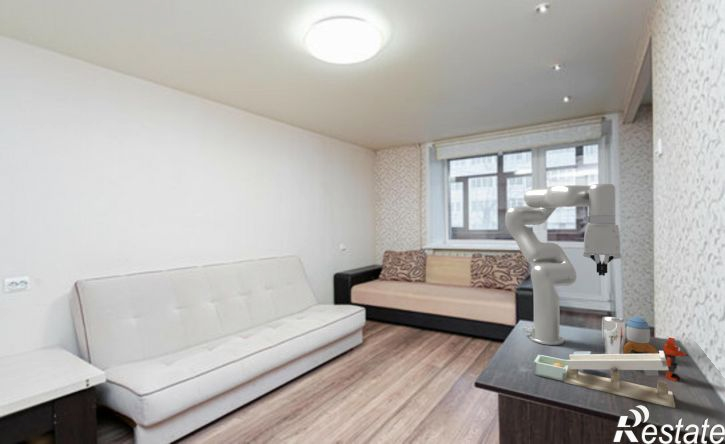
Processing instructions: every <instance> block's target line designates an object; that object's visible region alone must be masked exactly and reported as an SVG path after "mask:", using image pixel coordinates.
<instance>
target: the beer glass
mask: <svg viewBox="0 0 725 444" xmlns="http://www.w3.org/2000/svg"><path fill="white" fill-rule="evenodd" d="M601 320H602V321H601V336H602V342H603V348H604V353H603V354H623V350H624V346H625V345H626V340H627V335H626V327H627V323H626V320H625V319H623V318H621V317H616V316H603V317H602V319H601Z"/></svg>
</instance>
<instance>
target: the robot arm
mask: <svg viewBox="0 0 725 444" xmlns="http://www.w3.org/2000/svg"><path fill="white" fill-rule="evenodd" d="M523 202H524V203H525V205H524V206H523V205H520V206H514V207H513V206H512V207H510V208H509V209H508V210H507V211H506V212H505V217H504V222H505V227H506V229H507V231H508V232H509V234H510V235H511V237H512V238H513V239H514V241H515V243H516V244H517V246H518V248H519V250H520V252H521V253H522V256H523V257H524V260H525V261H526V262H527V263H528V264H529V265H534V266H533V267H532V268H531V270H530V280H531V285H532V290H533V291H532V293H533V326H531V327H528V326H524V325H523V326H522V331H523V332H524V333H527V334H529V339H530V340H531V341H532V342H535V343H537V344H541V345H546V346H547V345H549V346H561V345H563V344H564V343H565V338H563V337H562V336H560V335H561V333H560V325H561V324H560V322H561V321H560V296H559V293H558V292H557V290H556V287H567V286H568V287H569V286H572V285H574V284H575V283H576V281H577V272H576V269H575V267H574V266H573V264H572V263H571V260H570V259H569V258H568V256H567V255H566V252H565V251H564V249H563V247H561V246H560V245H559V244H557V243H555V242H542V241H541V240H540V239H539V238H538V237H537V235H536V234H535V233H534V231H533V230H531V228H529V227H527V226H538V225H542V224H544V223H546V221H547V220H548V219H549V218H550V217H551V215H553V213H554V211H556V210H557V208H559V207H562V208H563V207H564V208H565V207H568V208H569V207H578V208H579V207H585V208H586V207H587V208H588V216H586V217H583V222H587V223H588V224H585V228H584V237H583V255H582V256H583V257H585V258H589V259H591V260H592V261H594V262H595V263H596V273H598V276H605V275H606V274H608V264H609V263H610V262H611V261H613V260H617V259H622V253H621V234H620V233H621V232H620V228H619V224H616V186H615V185H614V184H612V183H597V184H592V185H575V184H574V185H557V186H546V187H543V186H542V187H535V188H530V189H528V190H527V191H526V192H525V193H524V196H523ZM526 205H527V206H526ZM600 255H603V256H604V259H603V261H601V258H600Z"/></svg>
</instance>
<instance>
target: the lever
mask: <svg viewBox="0 0 725 444" xmlns="http://www.w3.org/2000/svg"><path fill="white" fill-rule="evenodd" d="M658 352H659V353H658V354H649V353H643V354H635V353H629V354H604V353H601V354H599V353H597V354H596V353H594V354H592V351H574V352H573V354H569V356H568V357H569V359H566V360H567V362H568V366H569V369H578V370H600V371H601V370H604V371H605V370H606V371H607V370H608V371H609V370H610V371H611V367H616V368H619V370H620V371H624V370H625V371H643V372H644V375H645V376H652V377H653V376H659V371H666V370H669V369H668V366H667V362H666V358H665V355H664V354H665V353H664V350H658Z"/></svg>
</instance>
